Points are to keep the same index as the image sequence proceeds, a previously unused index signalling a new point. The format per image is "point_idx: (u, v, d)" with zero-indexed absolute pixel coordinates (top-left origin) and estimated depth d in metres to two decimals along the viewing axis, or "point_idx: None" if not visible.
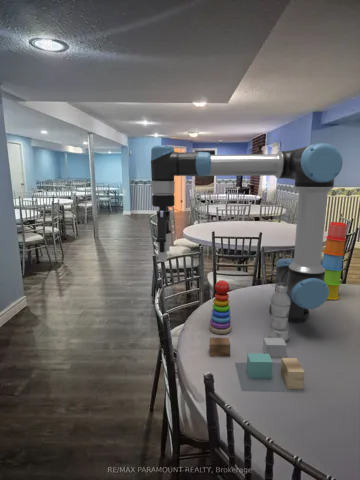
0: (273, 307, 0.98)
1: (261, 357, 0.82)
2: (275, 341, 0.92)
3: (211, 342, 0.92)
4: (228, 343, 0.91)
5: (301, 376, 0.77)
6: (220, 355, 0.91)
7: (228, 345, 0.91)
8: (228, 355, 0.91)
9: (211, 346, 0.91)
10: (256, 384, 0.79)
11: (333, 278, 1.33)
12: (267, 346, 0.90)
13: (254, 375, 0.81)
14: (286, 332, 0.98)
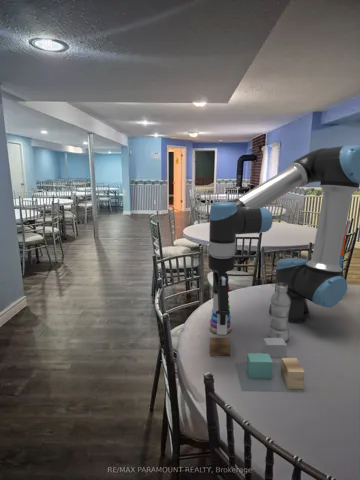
0: (273, 307, 0.98)
1: (261, 357, 0.82)
2: (275, 341, 0.92)
3: (211, 342, 0.92)
4: (228, 343, 0.91)
5: (301, 376, 0.77)
6: (220, 355, 0.91)
7: (228, 345, 0.91)
8: (228, 355, 0.91)
9: (211, 346, 0.91)
10: (256, 384, 0.79)
11: None
12: (267, 346, 0.90)
13: (254, 375, 0.81)
14: (286, 332, 0.98)
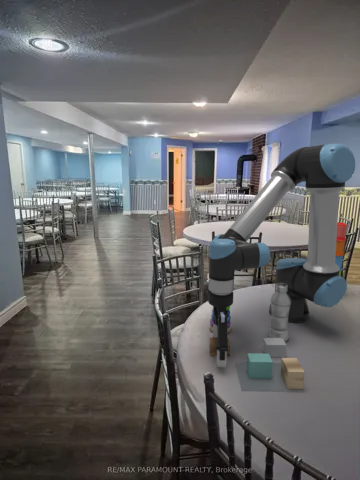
0: (273, 307, 0.98)
1: (261, 357, 0.82)
2: (275, 341, 0.92)
3: (211, 342, 0.92)
4: (228, 343, 0.91)
5: (301, 376, 0.77)
6: None
7: (228, 345, 0.91)
8: (228, 355, 0.91)
9: (211, 346, 0.91)
10: (256, 384, 0.79)
11: None
12: (267, 346, 0.90)
13: (254, 375, 0.81)
14: (286, 332, 0.98)
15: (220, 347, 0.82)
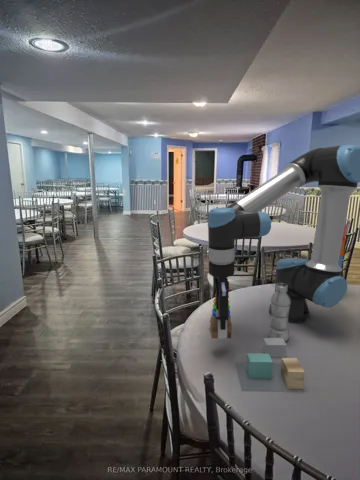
0: (273, 307, 0.98)
1: (261, 357, 0.82)
2: (275, 341, 0.92)
3: (212, 321, 0.91)
4: (229, 322, 0.90)
5: (301, 376, 0.77)
6: None
7: (229, 324, 0.89)
8: (229, 334, 0.90)
9: (212, 325, 0.90)
10: (256, 384, 0.79)
11: None
12: (267, 346, 0.90)
13: (254, 375, 0.81)
14: (286, 332, 0.98)
15: (220, 316, 0.85)
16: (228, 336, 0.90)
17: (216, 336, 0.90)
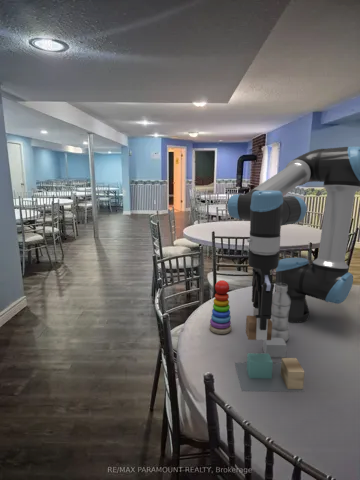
0: (273, 307, 0.98)
1: (261, 357, 0.82)
2: (275, 341, 0.92)
3: (250, 320, 0.80)
4: (270, 321, 0.79)
5: (301, 376, 0.77)
6: None
7: (270, 324, 0.78)
8: (269, 335, 0.79)
9: (250, 324, 0.79)
10: (256, 384, 0.79)
11: None
12: (267, 346, 0.90)
13: (254, 375, 0.81)
14: (286, 332, 0.98)
15: (262, 314, 0.74)
16: (267, 338, 0.79)
17: (254, 337, 0.79)
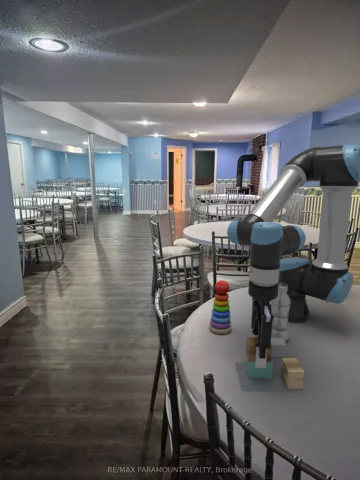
0: (273, 307, 0.98)
1: None
2: (275, 341, 0.92)
3: (250, 343, 0.81)
4: None
5: (301, 376, 0.77)
6: None
7: None
8: (269, 357, 0.80)
9: (250, 347, 0.80)
10: (256, 384, 0.79)
11: None
12: None
13: (254, 375, 0.81)
14: (286, 332, 0.98)
15: (262, 344, 0.76)
16: (267, 360, 0.80)
17: (254, 359, 0.80)
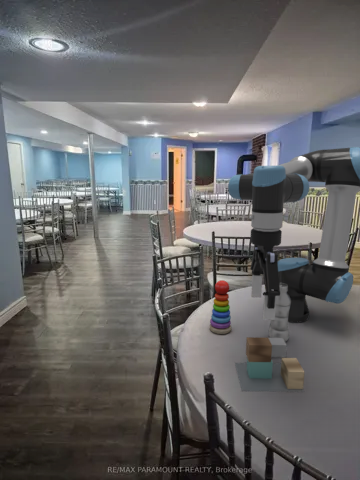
0: None
1: None
2: (275, 341, 0.92)
3: (250, 343, 0.81)
4: (269, 344, 0.80)
5: (301, 376, 0.77)
6: (260, 357, 0.80)
7: (269, 346, 0.79)
8: (269, 357, 0.80)
9: (250, 347, 0.80)
10: (256, 384, 0.79)
11: None
12: None
13: (254, 375, 0.81)
14: (286, 332, 0.98)
15: (270, 290, 0.68)
16: (267, 360, 0.80)
17: (254, 359, 0.80)
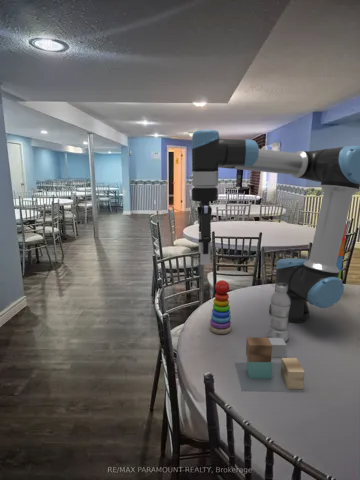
0: (273, 307, 0.98)
1: None
2: (275, 341, 0.92)
3: (250, 343, 0.81)
4: (269, 344, 0.80)
5: (301, 376, 0.77)
6: (260, 357, 0.80)
7: (269, 346, 0.79)
8: (269, 357, 0.80)
9: (250, 347, 0.80)
10: (256, 384, 0.79)
11: None
12: None
13: (254, 375, 0.81)
14: (286, 332, 0.98)
15: (203, 237, 0.79)
16: (267, 360, 0.80)
17: (254, 359, 0.80)
